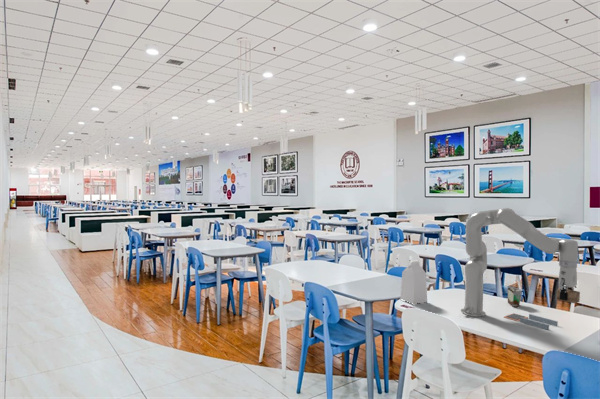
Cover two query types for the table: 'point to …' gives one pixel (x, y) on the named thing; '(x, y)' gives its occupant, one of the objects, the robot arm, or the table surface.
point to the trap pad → (514, 317)
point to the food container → (514, 296)
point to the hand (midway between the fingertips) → (566, 298)
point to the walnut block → (570, 296)
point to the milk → (414, 284)
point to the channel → (540, 319)
